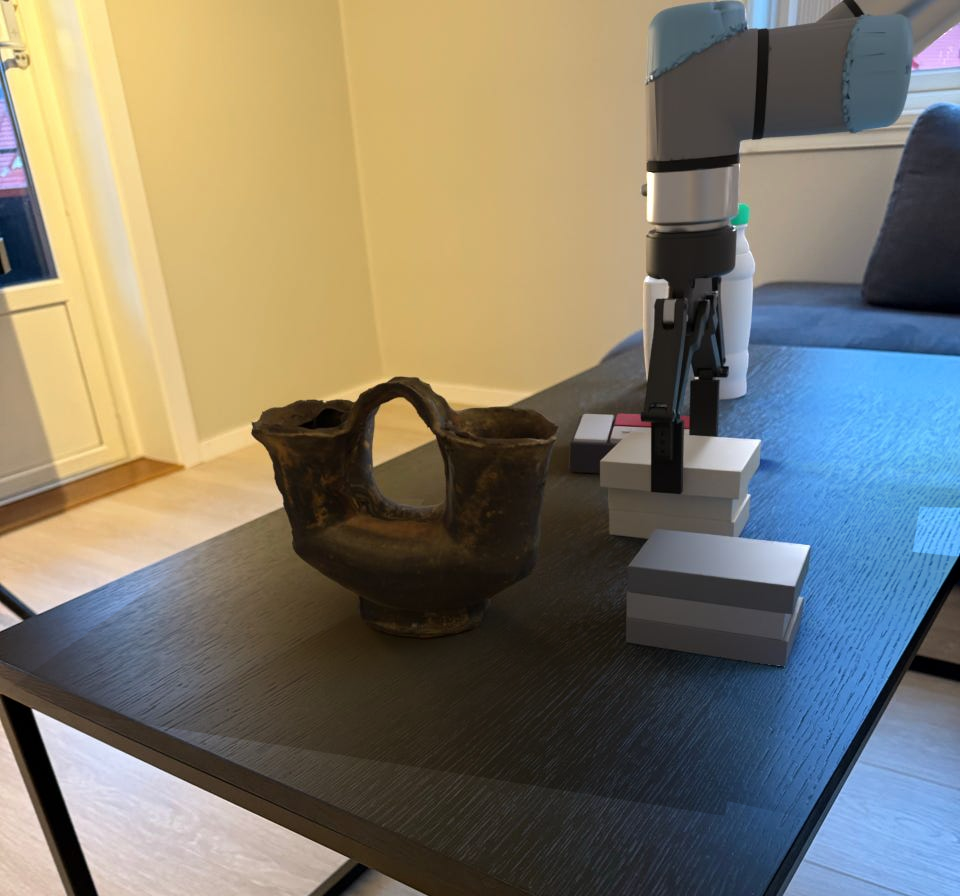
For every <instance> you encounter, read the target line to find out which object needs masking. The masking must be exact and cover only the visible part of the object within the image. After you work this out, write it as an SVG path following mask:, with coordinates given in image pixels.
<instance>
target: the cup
mask: <svg viewBox="0 0 960 896" xmlns="http://www.w3.org/2000/svg"><path fill="white" fill-rule="evenodd" d="M642 284H643V287H642V328H643V329H642V331H643V332H642V333H643V354H644V364H645V365H644V367H645V376H646V380H647V379H648V371H649V363H650V355H651V347H652V340H653V332H654V311H655V309H654V304H655V301H656V299H663V298H665V299H666V298H667V289H668V287H669V286H668V282H667V281H666V280H664V279H654V278H651V277H650V276H649V275H647V276H645V278H644V280H643V283H642Z"/></svg>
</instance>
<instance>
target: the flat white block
mask: <svg viewBox="0 0 960 896" xmlns="http://www.w3.org/2000/svg"><path fill="white" fill-rule="evenodd" d="M761 450H762V439H756V438H753V439H752V438H741V437H740V438H738V437H722V436H721V437H720V436H718V437H710V436H694V435H684V455H683V492H682V493H681V494H684V495H695V496H706V497H717V498H728V499H739V498H740V497H741V495H742V493H743V492H744V490H745V488H746V487H747V485H748V486H749V483H750V482H751V480H752V479H753V477H754V475H755V473H756V471H757V470H758V468H759V467H760V465H761V464H760V462H761V452H762V451H761ZM599 485H600V486H599V487H600V488H618V489H629V490H640V491H651V433H648V432H633V431H631V432H629V433H628V434H627V435H626V436H625V437H624V438H623V439H622V440H621V441H620V442H619V443H618V444H617V445H616V446H615V447H614V448H613V449H612V450H611V451H610V452H609V453H608V454H607V455H606V456H605V457H604V458H603V459H602V460H601V461H600V473H599Z"/></svg>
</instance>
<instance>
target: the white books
mask: <svg viewBox="0 0 960 896" xmlns="http://www.w3.org/2000/svg"><path fill="white" fill-rule="evenodd" d="M607 490H608V492H607V493H608V501H607V503H608V505H607V507H608V534H609V535H611V536H618V537H619V536H620V537H627V538H628V537H629V538H637V539H647V540H648V539H649V538H650V536H651V535H652V534H653V532H654V531H655V530H656V529H663V530H673V531H682V532H691V533H701V534H710V535H719V536H729V537H738V538H740V536H741V535H742V532H743V530H744V529H745V527H746V525H747V523H748V522H749V519H750V512H751V511H750V510H751V509H750V508H751V494H750V493H748V492H749V484H748V485H747V487H746V488H745V490H744V492H743V493H742V495H741V497H740V498H739V499H728V498H717V497H706V496H695V495H684V494H670V493H656V492H651V491H640V490H629V489H618V488H608V489H607Z"/></svg>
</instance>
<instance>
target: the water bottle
mask: <svg viewBox="0 0 960 896" xmlns="http://www.w3.org/2000/svg"><path fill="white" fill-rule="evenodd" d="M749 220H750V207H749V205H748V204H746V203H742V202H739V210H738V215H737V216H736V217H735V218H733V219H731V224H732V225H734V226H735V228H736V229H737V240H736V263H735V268H734V269H733V270H732V271H731V272H730V273H728V274H726V275H722V276H721V277H722V281H721V306H722V320H723V333H724V346H725V358H726V363H725V364H724V366H729V374H728V377H727V378H717V377H716V380H720V389H719V402H720V401H721V400H732V399H737V398H740V397H743V396H746V395H747V388H748V387H747V373H748V368H749V350H748V348H749V343H750V336H751V329H752V328H751V327H752V316H753V315H752V314H753V299H754V298H753V297H754V279H753V276H754V274H755V272H756V261H755V258H754V256H753V253H752V251H751V250H750V244H749V242H748V239H747V238H746V234H745V230H746V228H747V227H748V224H749ZM694 379H699V377H694Z"/></svg>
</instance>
